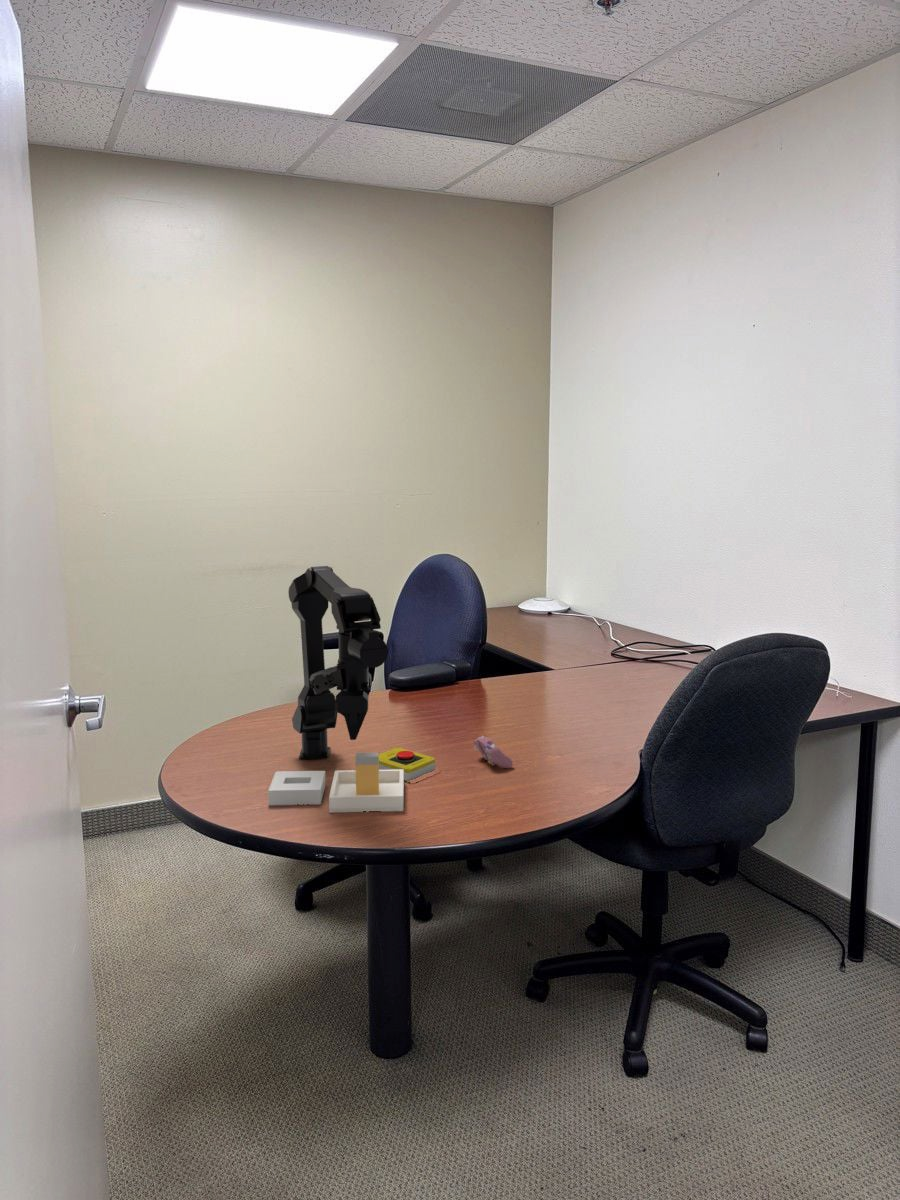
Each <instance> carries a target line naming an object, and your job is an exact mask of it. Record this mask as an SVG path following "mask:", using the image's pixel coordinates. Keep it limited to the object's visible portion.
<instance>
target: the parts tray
mask: <svg viewBox="0 0 900 1200" xmlns="http://www.w3.org/2000/svg"><path fill="white" fill-rule="evenodd" d="M404 784H405V783H404V769H393V770H379V795H356V769H355V770H354V769H351V770H349V769H348V770H343V769H342V770H341V769H340V770H334V774H333V778H332V783H331V786H330V787H331V788H330V791H329V795H328V804H329V805H328V807H329V809H328V810H329V811H328V813H330V814H331V813H364V812H363V811H366V812H365V813H369V811H381V812H404V801H405V800H404V799H405V798H404V788H405V785H404Z"/></svg>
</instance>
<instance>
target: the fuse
mask: <svg viewBox="0 0 900 1200" xmlns="http://www.w3.org/2000/svg"><path fill="white" fill-rule="evenodd" d="M354 760H355V770H356V795H379V752H356V753H355V759H354Z"/></svg>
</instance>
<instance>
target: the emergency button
mask: <svg viewBox="0 0 900 1200" xmlns="http://www.w3.org/2000/svg"><path fill="white" fill-rule="evenodd" d="M393 769H404V780H406V781H410V780H413V779H416V778H418V777H420V776H422V775H424V774H427V773H429V772H432V771H434V770H435V769H437V768H436V759H435V757H433V756H430V755H427V754H423V753H419V752H416V751H412V750H409V749H406V748H402V747H396V748H392V749H390V750H388V751H385V752H381V753H380V754H379V770H393Z"/></svg>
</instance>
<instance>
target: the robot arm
mask: <svg viewBox="0 0 900 1200" xmlns="http://www.w3.org/2000/svg"><path fill="white" fill-rule="evenodd" d="M288 599H289V601H290V604H291V609H292V610H293V612H294V613H295V615H296V616H297V618H298V619H299V623H300V635H301V636H300V638H301V651H302V652H301V653H302V668H303V683H304V684H303V688H302V689H301V691H300V693H299V694H298V697H297V706H296V708H295V711H294V714H293V716H292V719H291V720H292V728H293V729H294V730H295V731H296V732H297V733H298V734H301V750H300V753H299V755H298V759H299V760H314V759H318V760H319V759H324V760H325V759H329V757H330V754H331V750H332V749H331V747H330V746H328V745H329V744H328V729H335V728H336V726H337V720H338V714H340V715H341V716H343V717H344V721H345V725H346V728H347V731H348V732H347V733H348V735H349V740H351V741H354V740H355V741H356V740H357V738H358V735H359V733H360V730H361V729H362V725H363V723H364V721H365V718H366V716H367V713H368V711H369V705H370V703H369V701H370V700H369V697H370V696H369V695H370V693H371V689H372V688H371V687H372V674H371V673H370V672H369V668H370V669H376V668H379V667H380V666H382V665H383V664H384V663H385V662H386V660H387V659H388V656H389V648H388V645H387V643H386V641H384V640H383V639H382V638H380V637H379V631H377V630H380V629H382V628H381V627H382V626H381V621H382V620H381V617H380V614H379V611H378V609H377V607H376V606H377V605H376V603H375V601H374V599H373V597H372V596H371V594H370V593H369V592H368V591H366V590H364V589H362V588H357V587H351V586H349V585H348V584H347V583H345V581H344V580H342V578H340V577H339V576H338V575H337V574H336V573H335V572H334V569H333V567H332V566H328V565H319V566H317V565H316V566H311V567H308V568H306V571H305V572H303V573H302V574H300V575H299V576H297V577H295V578H294V579H293V580H292V581H291V584H290V585H289V587H288ZM329 603H330V604H331V605H330V606H331V614H332V616H333V619H334V621H335V623H336V626H335V627H336V629H337V630H338V660H337V663H336V665H334V666H331V667H328V668H327V667H326V666H325V652H324V651H325V650H324V634H323V633H324V632H323V618H324V617H325V615H326V612H327V611H328V608H329ZM335 687H336V690H337V691H339V692H338V693H337V694H336V695H335V694H334V693H333V692H332V691H331V689H334V688H335Z"/></svg>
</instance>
